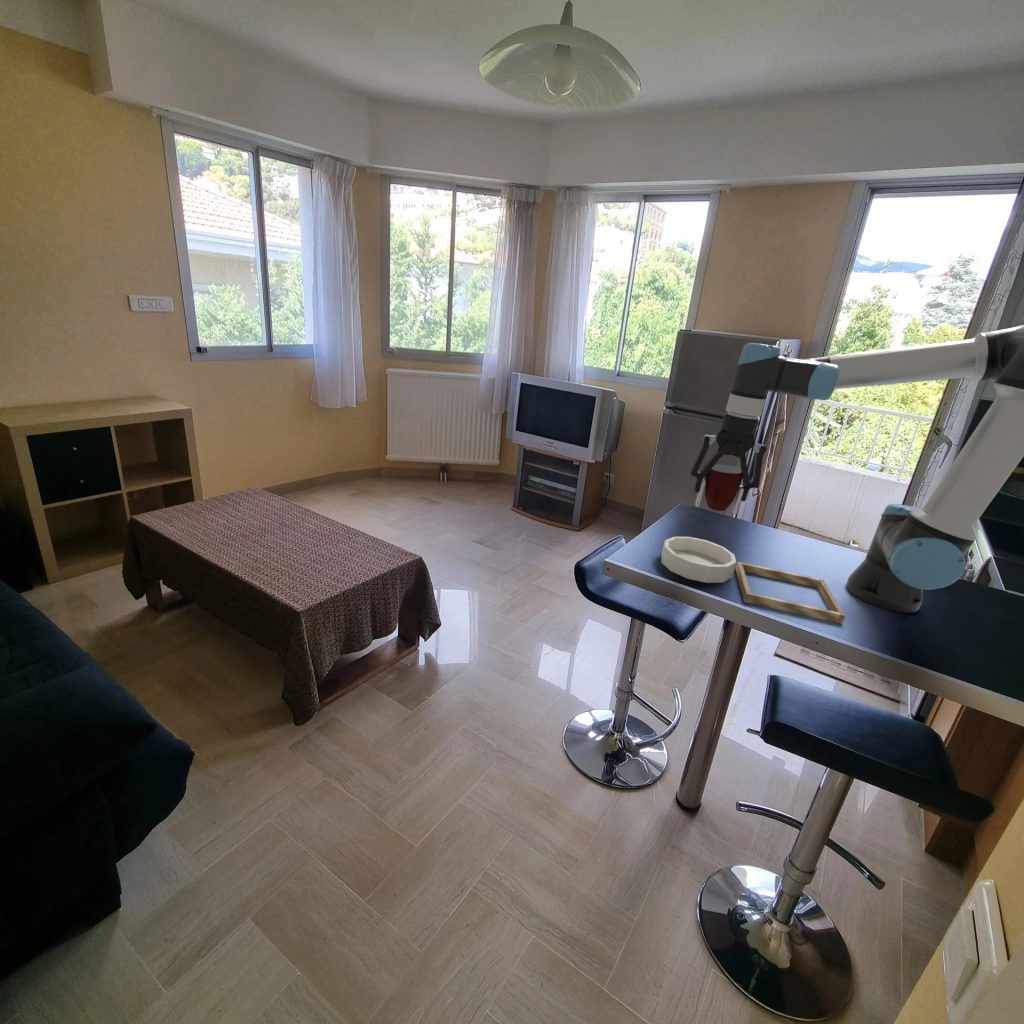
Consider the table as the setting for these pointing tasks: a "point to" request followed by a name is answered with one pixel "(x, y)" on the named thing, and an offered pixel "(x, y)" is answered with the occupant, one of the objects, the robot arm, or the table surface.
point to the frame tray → (830, 615)
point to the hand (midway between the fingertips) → (715, 508)
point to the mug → (722, 486)
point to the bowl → (698, 559)
